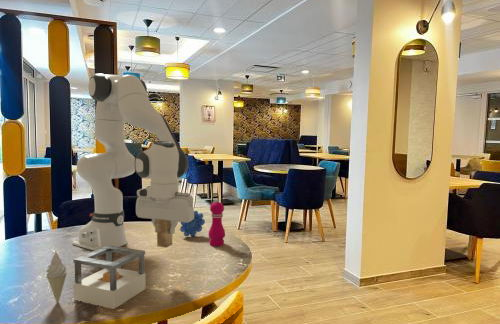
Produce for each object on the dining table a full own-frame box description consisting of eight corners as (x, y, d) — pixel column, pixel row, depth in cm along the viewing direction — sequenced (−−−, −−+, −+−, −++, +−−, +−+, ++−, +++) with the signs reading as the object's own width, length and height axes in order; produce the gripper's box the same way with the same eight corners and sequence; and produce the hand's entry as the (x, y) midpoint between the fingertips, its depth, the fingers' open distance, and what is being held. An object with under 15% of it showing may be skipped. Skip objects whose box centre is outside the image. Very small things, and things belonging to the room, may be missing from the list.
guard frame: (73, 283, 104) (73, 259, 103) (108, 266, 117) (108, 245, 116) (113, 291, 99) (113, 266, 98) (145, 273, 112) (145, 250, 111)
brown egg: (99, 292, 107) (99, 275, 106) (110, 286, 111) (110, 270, 110) (112, 294, 105) (111, 277, 105) (122, 288, 109) (122, 272, 109)
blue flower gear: (202, 232, 175) (202, 208, 174) (206, 236, 169) (206, 211, 168) (178, 234, 171) (178, 209, 170) (181, 238, 165) (181, 212, 164)
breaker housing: (74, 300, 104) (73, 283, 104) (109, 281, 117) (108, 266, 117) (113, 309, 99) (113, 291, 99) (145, 288, 112) (145, 273, 112)
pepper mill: (222, 247, 154) (222, 200, 152) (206, 246, 155) (206, 199, 153) (226, 242, 161) (227, 197, 159) (211, 241, 162) (211, 196, 160)
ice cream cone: (52, 298, 105) (50, 248, 103) (70, 298, 105) (69, 247, 104) (43, 307, 100) (42, 253, 98) (63, 306, 100) (61, 253, 99)
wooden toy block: (157, 246, 118) (157, 219, 118) (163, 243, 122) (163, 216, 121) (166, 247, 117) (166, 220, 116) (172, 244, 120) (172, 217, 120)
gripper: (197, 191, 117) (197, 233, 118) (144, 187, 124) (145, 227, 125) (187, 194, 111) (187, 239, 113) (132, 190, 118) (133, 232, 120)
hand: (164, 233), depth 119 cm, fingers closed on wooden toy block, 3 cm apart
